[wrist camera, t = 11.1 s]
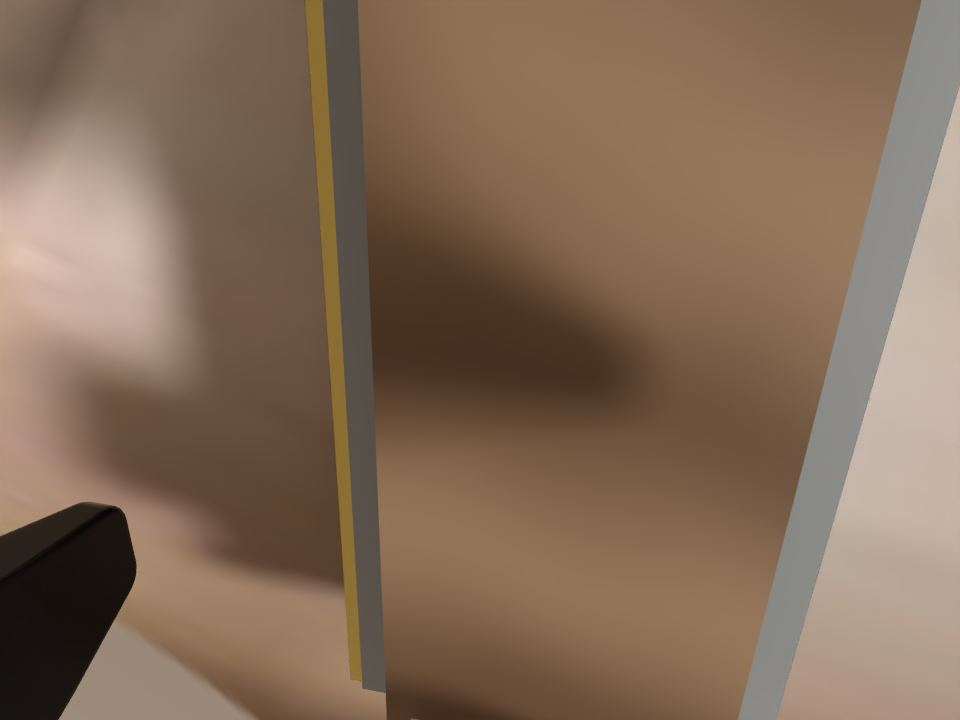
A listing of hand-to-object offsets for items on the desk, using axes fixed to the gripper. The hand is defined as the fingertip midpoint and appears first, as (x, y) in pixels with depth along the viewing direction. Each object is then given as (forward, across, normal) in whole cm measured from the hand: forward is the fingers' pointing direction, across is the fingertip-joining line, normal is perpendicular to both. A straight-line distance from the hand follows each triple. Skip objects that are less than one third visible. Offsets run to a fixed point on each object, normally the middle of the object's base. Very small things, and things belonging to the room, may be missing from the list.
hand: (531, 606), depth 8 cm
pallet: (+8, 0, 0) cm, 8 cm away
